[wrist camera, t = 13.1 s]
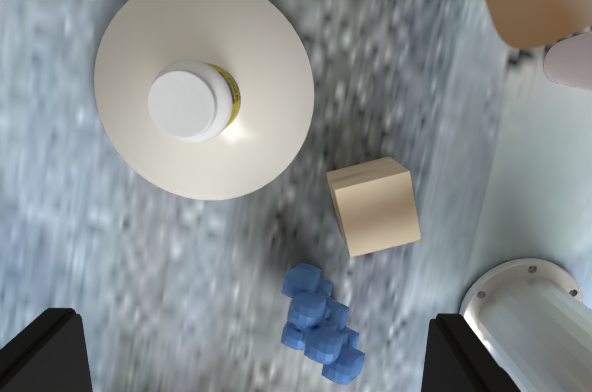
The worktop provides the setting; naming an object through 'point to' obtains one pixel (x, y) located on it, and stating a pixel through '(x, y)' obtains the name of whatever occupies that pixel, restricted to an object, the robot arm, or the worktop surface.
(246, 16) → the ceramic plate
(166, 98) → the supplement bottle
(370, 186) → the ash block
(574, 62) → the smoothie
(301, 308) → the grapes
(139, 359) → the worktop surface
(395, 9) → the worktop surface
